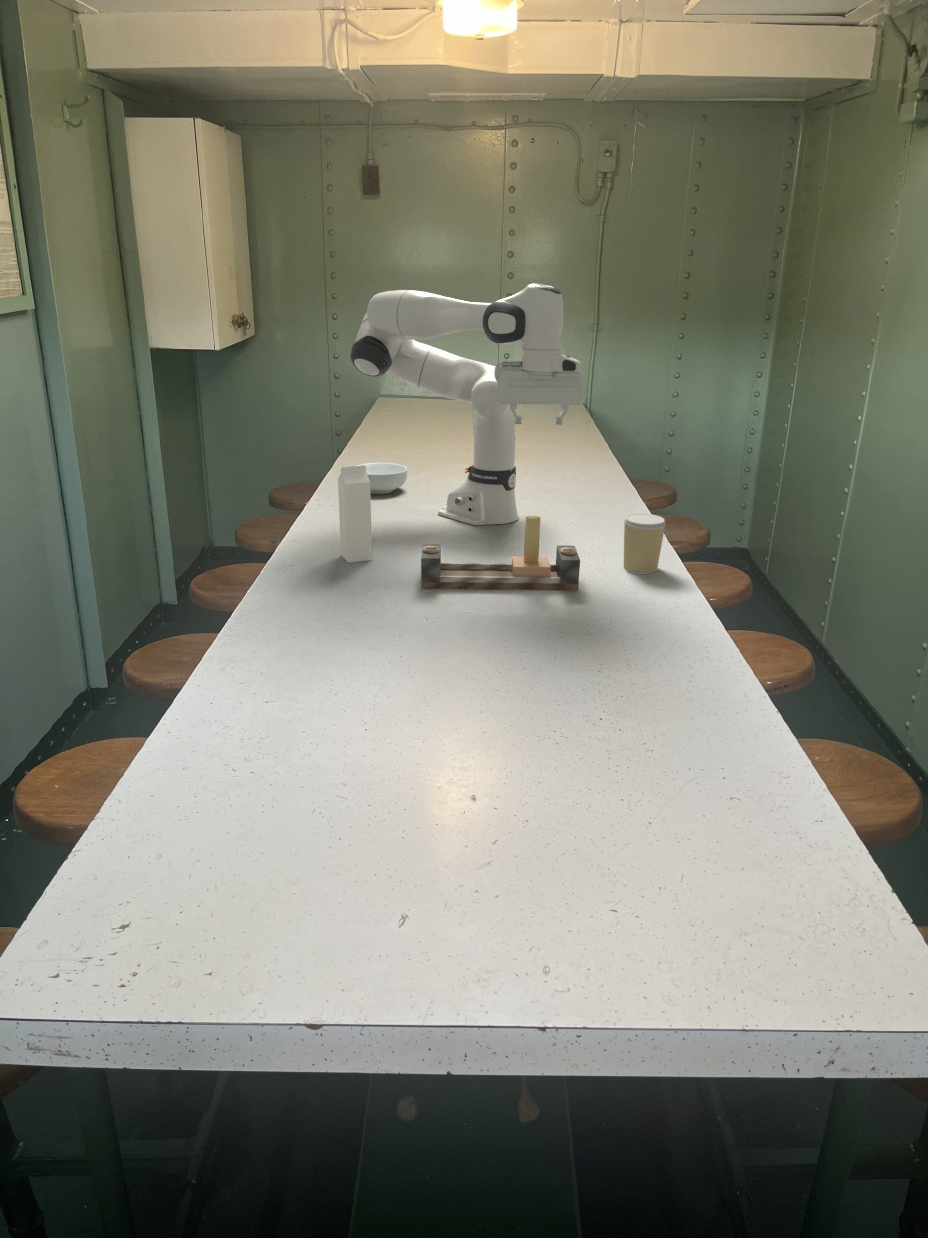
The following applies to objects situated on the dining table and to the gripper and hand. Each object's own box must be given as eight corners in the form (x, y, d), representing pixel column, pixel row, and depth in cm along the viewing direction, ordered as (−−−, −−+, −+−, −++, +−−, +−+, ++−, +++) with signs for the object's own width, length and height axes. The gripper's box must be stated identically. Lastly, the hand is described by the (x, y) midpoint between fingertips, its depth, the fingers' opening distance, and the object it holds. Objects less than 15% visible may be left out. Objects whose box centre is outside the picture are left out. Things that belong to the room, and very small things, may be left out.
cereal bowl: (411, 485, 273) (411, 462, 270) (402, 499, 258) (402, 475, 255) (357, 483, 274) (356, 460, 272) (345, 496, 259) (345, 473, 256)
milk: (372, 560, 207) (370, 468, 198) (347, 563, 205) (344, 470, 196) (364, 552, 212) (362, 462, 203) (340, 555, 210) (337, 464, 201)
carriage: (513, 579, 191) (515, 522, 186) (511, 568, 197) (513, 512, 192) (549, 580, 191) (553, 522, 186) (547, 569, 197) (550, 513, 192)
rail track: (421, 588, 190) (421, 554, 187) (423, 573, 199) (422, 540, 196) (578, 590, 190) (580, 556, 187) (572, 574, 199) (574, 542, 196)
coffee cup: (663, 564, 207) (668, 515, 202) (657, 577, 199) (663, 526, 194) (623, 560, 210) (627, 511, 205) (616, 572, 201) (621, 521, 197)
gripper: (495, 362, 193) (493, 425, 198) (588, 363, 193) (583, 427, 199) (494, 359, 199) (492, 420, 204) (584, 360, 199) (580, 422, 204)
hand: (538, 424), depth 201 cm, fingers open, 8 cm apart
